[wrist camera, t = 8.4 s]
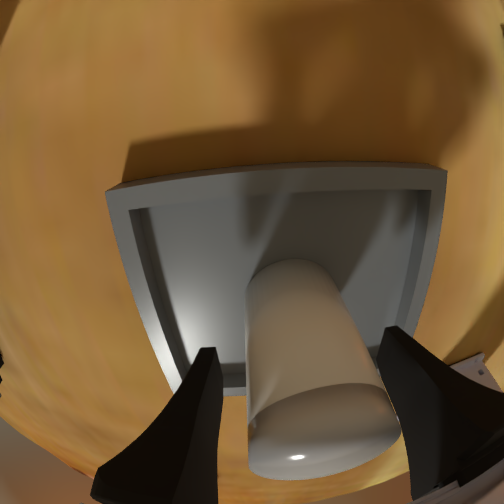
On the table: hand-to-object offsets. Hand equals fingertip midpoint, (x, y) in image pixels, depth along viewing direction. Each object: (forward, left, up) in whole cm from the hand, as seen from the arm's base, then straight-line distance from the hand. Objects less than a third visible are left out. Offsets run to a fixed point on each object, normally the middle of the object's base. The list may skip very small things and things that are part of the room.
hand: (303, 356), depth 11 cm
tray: (0, 0, -5) cm, 5 cm away
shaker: (0, 0, -4) cm, 4 cm away
